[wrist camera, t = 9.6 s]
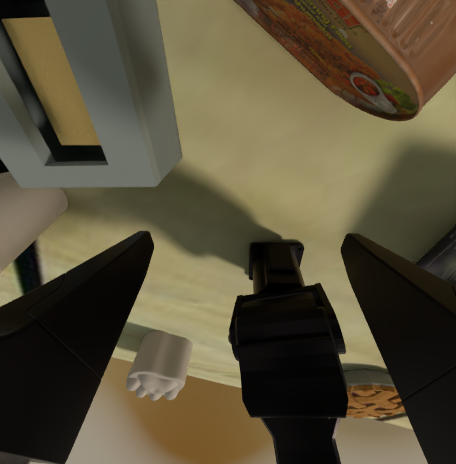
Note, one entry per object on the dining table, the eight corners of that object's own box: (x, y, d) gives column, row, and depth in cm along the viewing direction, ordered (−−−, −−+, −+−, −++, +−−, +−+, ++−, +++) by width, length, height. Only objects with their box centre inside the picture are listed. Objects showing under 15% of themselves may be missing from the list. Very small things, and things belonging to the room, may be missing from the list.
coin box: (182, 157, 19) (155, 186, 13) (84, 159, 20) (20, 187, 14) (152, -21, 13) (77, -109, 7) (9, -8, 13) (-163, -77, 8)
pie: (290, 382, 52) (294, 407, 48) (369, 356, 40) (383, 386, 36) (344, 403, 58) (352, 426, 54) (425, 385, 47) (442, 414, 43)
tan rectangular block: (136, 131, 17) (103, 145, 13) (103, 131, 18) (61, 144, 14) (111, 37, 14) (56, 16, 10) (71, 38, 14) (1, 18, 10)
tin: (196, -34, 12) (136, -183, 5) (223, -115, 11) (184, -476, 4) (358, 118, 16) (440, 140, 9) (396, 76, 15) (528, 68, 8)
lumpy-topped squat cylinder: (197, 341, 41) (188, 393, 34) (178, 362, 49) (167, 408, 42) (149, 326, 39) (128, 378, 32) (136, 351, 46) (117, 397, 39)
